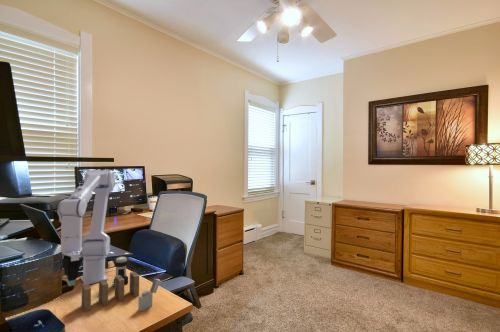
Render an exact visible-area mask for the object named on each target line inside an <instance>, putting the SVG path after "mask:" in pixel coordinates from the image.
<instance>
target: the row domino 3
mask: <svg viewBox="0 0 500 332" xmlns="http://www.w3.org/2000/svg"><path fill="white" fill-rule="evenodd" d="M114 278H115V286H114V297H115V299H116V300H117V301H118V302H123V301H125V284H124V279H123V278H122V277H121V276H120V275H118V276H116V275H115V276H114Z"/></svg>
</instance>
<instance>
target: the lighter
mask: <svg viewBox="0 0 500 332" xmlns="http://www.w3.org/2000/svg"><path fill="white" fill-rule="evenodd" d="M160 282H161V279H159V278H154V279H153V281H152V285H151V287H150V289H149V290H148V289H146V290H144V291H142V294H141V295H140V294H139V296H138V306H137V307H138V311H140V312H143V311H146V310H147V309H149V308H152V307H153V294H156V293H157V291H158V288H159V286H160Z"/></svg>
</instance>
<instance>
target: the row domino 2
mask: <svg viewBox="0 0 500 332" xmlns="http://www.w3.org/2000/svg"><path fill="white" fill-rule="evenodd" d="M98 302H99V303H100V305H101V306H102V307H106V306H108V305H109V283H108V281H107V280H105V279H102V280H99V282H98Z"/></svg>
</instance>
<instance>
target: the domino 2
mask: <svg viewBox="0 0 500 332" xmlns="http://www.w3.org/2000/svg"><path fill="white" fill-rule="evenodd" d="M129 293H130V294H131V295H132V296H133V297H134V298H135V297H139V296H140V275H139V274H138V273H137V272H136V271H130V272H129Z"/></svg>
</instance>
